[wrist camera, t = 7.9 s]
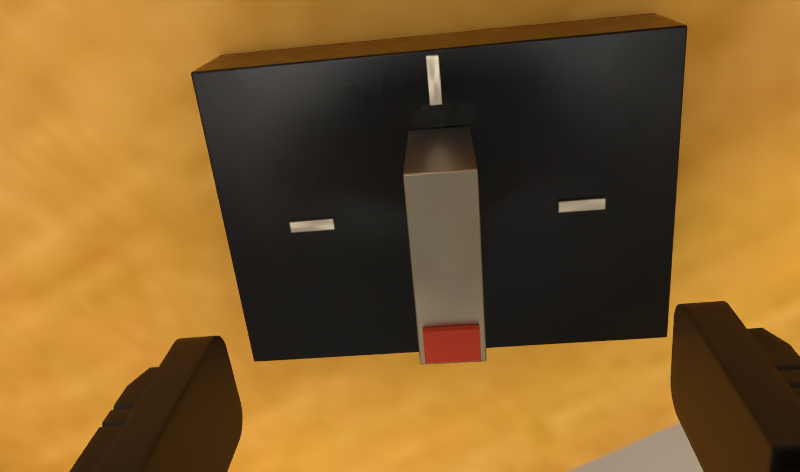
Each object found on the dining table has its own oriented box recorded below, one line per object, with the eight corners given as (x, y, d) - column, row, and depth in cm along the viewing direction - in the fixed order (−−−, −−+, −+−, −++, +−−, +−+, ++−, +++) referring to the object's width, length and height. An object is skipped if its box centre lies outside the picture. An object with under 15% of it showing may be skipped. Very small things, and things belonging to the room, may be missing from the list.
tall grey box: (408, 130, 20) (402, 177, 16) (469, 125, 20) (478, 171, 16) (422, 294, 22) (420, 370, 19) (477, 291, 22) (487, 367, 18)
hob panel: (655, 12, 21) (690, 25, 19) (642, 294, 25) (669, 340, 23) (219, 55, 23) (188, 73, 20) (272, 317, 27) (252, 364, 24)
